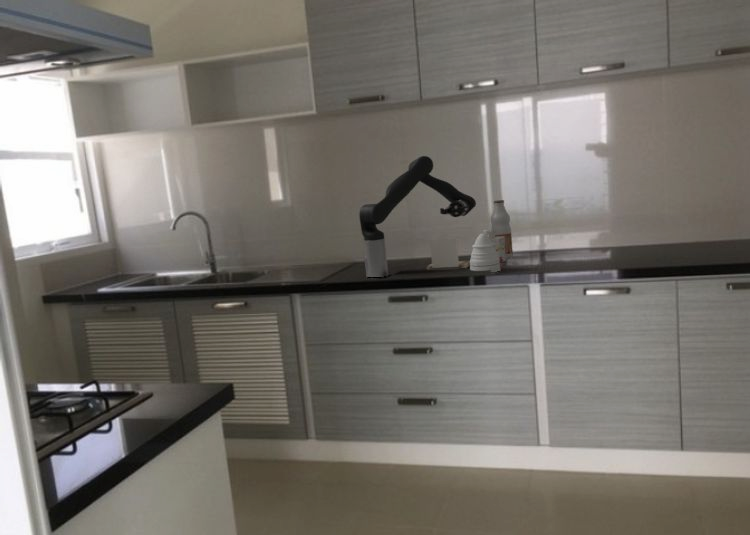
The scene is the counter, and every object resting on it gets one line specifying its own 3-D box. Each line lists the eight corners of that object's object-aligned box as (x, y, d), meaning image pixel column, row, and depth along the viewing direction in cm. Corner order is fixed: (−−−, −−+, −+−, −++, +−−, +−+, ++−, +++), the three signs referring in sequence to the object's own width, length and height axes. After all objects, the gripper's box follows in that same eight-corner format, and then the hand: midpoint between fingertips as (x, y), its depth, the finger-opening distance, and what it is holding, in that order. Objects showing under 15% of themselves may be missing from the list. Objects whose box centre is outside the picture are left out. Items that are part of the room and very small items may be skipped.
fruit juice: (499, 260, 310) (495, 201, 306) (489, 258, 319) (485, 201, 315) (516, 257, 313) (512, 199, 309) (506, 256, 322) (502, 199, 318)
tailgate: (432, 271, 292) (429, 239, 289) (433, 271, 293) (430, 238, 291) (458, 270, 287) (455, 237, 285) (459, 270, 288) (456, 237, 286)
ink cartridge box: (500, 263, 300) (498, 231, 298) (490, 263, 303) (487, 232, 301) (506, 260, 307) (504, 229, 305) (496, 260, 310) (494, 230, 308)
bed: (427, 272, 294) (426, 266, 294) (434, 268, 305) (433, 262, 304) (466, 271, 288) (465, 264, 287) (471, 267, 298) (471, 260, 297)
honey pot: (500, 268, 287) (497, 227, 284) (499, 273, 274) (496, 230, 272) (471, 270, 290) (468, 230, 287) (469, 275, 277) (465, 233, 275)
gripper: (442, 202, 316) (433, 204, 300) (471, 199, 311) (462, 202, 295) (444, 217, 317) (434, 221, 301) (472, 215, 312) (464, 218, 296)
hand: (448, 211), depth 298 cm, fingers open, 3 cm apart
